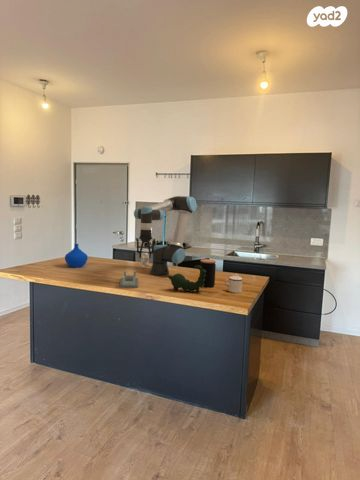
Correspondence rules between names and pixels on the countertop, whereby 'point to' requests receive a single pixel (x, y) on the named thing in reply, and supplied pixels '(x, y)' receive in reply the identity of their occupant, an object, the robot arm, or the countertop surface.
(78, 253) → the vase
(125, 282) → the front end cap
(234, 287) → the teacup with lid
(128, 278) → the back end cap
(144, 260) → the slat
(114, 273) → the countertop surface
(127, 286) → the base board
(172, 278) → the toy figurine
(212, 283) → the coffee jar
